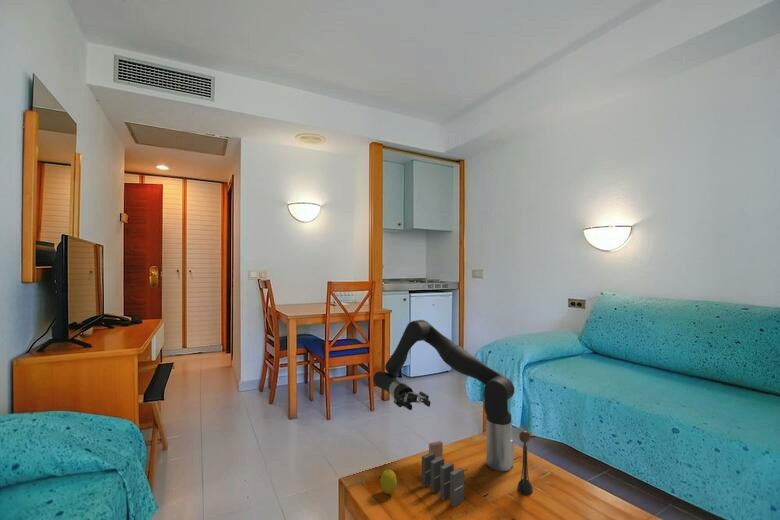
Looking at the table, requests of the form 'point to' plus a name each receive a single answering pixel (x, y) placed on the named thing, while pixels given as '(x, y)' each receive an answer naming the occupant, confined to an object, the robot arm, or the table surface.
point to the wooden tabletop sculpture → (525, 465)
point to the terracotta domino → (436, 449)
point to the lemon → (388, 481)
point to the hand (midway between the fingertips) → (420, 406)
